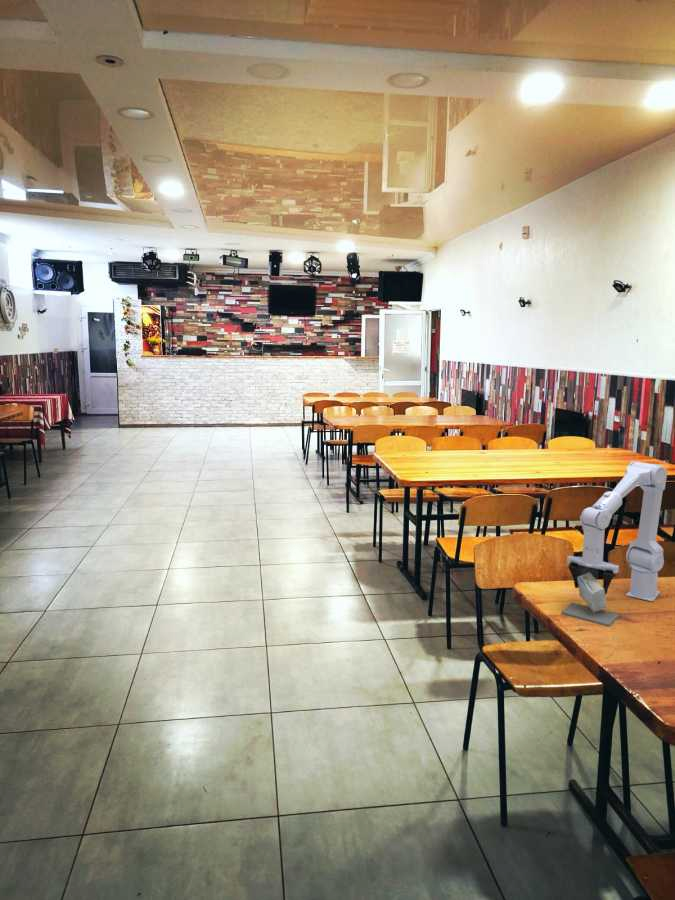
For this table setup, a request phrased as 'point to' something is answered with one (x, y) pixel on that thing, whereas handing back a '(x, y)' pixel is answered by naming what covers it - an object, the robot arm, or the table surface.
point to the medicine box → (591, 592)
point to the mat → (590, 614)
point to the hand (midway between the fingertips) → (590, 590)
